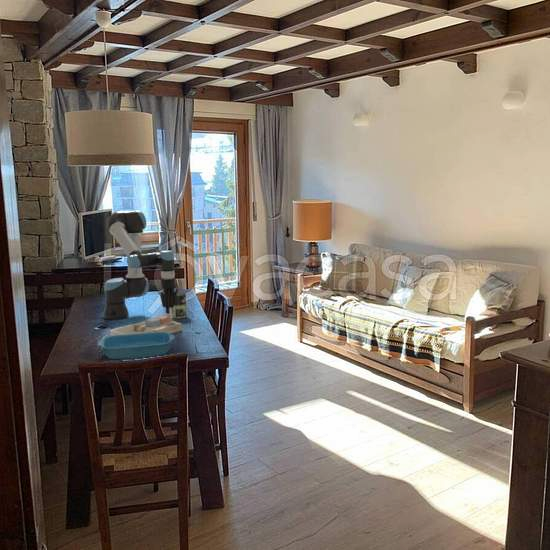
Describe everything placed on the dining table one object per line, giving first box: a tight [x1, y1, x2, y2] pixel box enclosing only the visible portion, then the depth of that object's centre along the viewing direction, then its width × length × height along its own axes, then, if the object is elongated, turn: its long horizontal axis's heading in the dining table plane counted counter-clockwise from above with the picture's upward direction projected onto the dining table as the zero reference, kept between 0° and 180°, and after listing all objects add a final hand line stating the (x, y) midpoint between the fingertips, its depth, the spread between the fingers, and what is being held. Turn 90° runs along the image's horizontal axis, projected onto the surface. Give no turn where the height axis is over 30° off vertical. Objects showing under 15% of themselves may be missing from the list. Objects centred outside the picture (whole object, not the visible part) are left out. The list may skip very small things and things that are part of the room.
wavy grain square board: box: [133, 320, 183, 334], centre depth 315 cm, size 20×18×4 cm
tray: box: [108, 323, 154, 337], centre depth 302 cm, size 18×16×4 cm
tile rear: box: [154, 315, 171, 324], centre depth 318 cm, size 6×6×3 cm
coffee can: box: [172, 292, 188, 319], centre depth 348 cm, size 10×10×14 cm
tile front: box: [144, 317, 161, 327], centre depth 313 cm, size 6×6×3 cm
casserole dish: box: [97, 332, 176, 360], centre depth 276 cm, size 37×22×7 cm, turn 104°
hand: (169, 318), depth 322 cm, fingers closed
